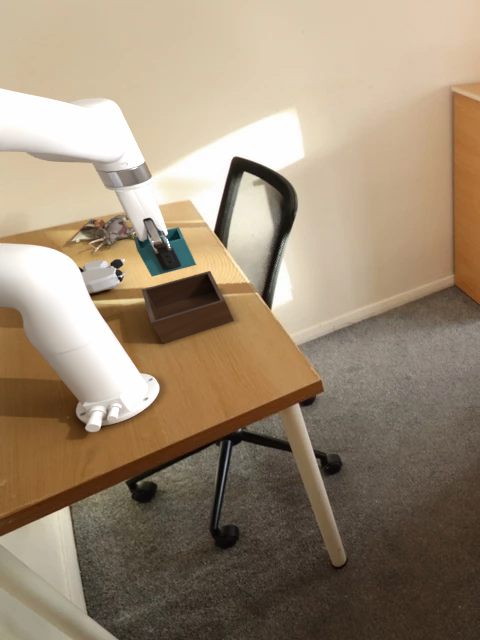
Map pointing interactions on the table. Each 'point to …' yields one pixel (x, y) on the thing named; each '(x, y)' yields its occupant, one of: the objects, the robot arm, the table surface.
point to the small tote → (174, 241)
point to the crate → (186, 306)
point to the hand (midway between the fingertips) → (169, 260)
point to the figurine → (104, 231)
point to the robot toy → (102, 275)
